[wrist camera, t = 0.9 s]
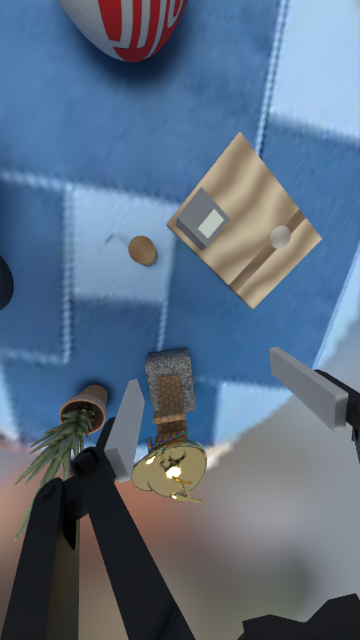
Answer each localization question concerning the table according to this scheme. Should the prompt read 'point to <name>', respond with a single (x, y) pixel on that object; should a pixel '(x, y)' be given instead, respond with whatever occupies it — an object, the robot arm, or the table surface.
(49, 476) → the potted plant
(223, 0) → the table surface
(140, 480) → the figurine
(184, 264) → the table surface
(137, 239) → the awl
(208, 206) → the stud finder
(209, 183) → the board
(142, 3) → the decorative sphere
